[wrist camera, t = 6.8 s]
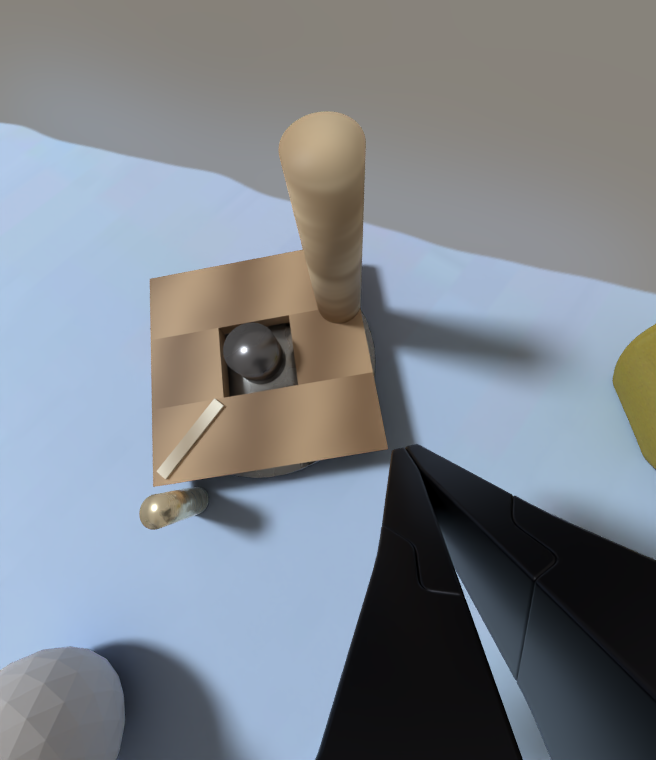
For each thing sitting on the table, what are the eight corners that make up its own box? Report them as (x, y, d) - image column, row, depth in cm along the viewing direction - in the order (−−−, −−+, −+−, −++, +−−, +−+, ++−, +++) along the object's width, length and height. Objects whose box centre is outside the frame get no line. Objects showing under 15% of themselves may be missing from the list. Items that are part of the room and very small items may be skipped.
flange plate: (348, 250, 21) (342, 39, 10) (388, 449, 18) (436, 437, 7) (159, 286, 22) (-32, 121, 11) (163, 485, 18) (-99, 523, 8)
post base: (413, 326, 21) (426, 296, 17) (270, 573, 18) (247, 605, 14) (241, 240, 23) (218, 197, 19) (94, 443, 21) (33, 440, 17)
